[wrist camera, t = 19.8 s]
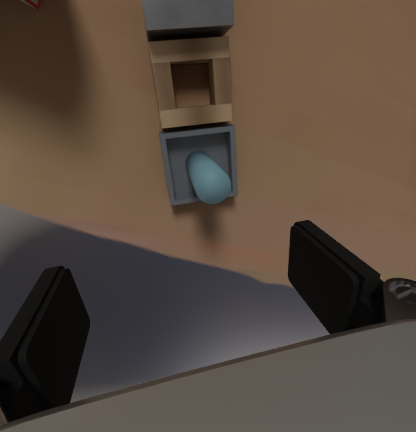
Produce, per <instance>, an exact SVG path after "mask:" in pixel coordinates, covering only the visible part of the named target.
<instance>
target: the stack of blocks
mask: <svg viewBox="0 0 416 432" xmlns="http://www.w3.org/2000/svg"><path fill="white" fill-rule="evenodd" d="M19 1H21V2H23V3H25V4H26V5H28V6H30V7H32V8H34V9H36V10H38V7H39V2H40V0H19Z"/></svg>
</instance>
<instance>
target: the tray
mask: <svg viewBox="0 0 416 432" xmlns="http://www.w3.org/2000/svg"><path fill="white" fill-rule="evenodd" d="M159 136H160V142H161V148H162V154H163V160H164V166H165V172H166V178H167V185H168V191H169V197H170V203H171V206H173V205H180V204H186V203H193V202H200V201H201V200H200V199H199V197H198V196H197V194H196V191H195V189H194V187H193V184H192V182H191V179H190V177H189V174H188V172H187V170H186V166H185V162H186V158H187V157H188V155H189V154H190V153H192V152H194V151H204V152H206V153H207V154H208V155H209V156H210V157H211V158H212V159H213V160H214V161H215V162H216V164H217V165H218V166H219V167H220V168H221V169H222V170H223V171H224V172H225V173H226V174H227V175H228V177H229V178H230V181H231V190H230V193H229V195H228V196H227V197H233V196H238V191H237V167H236V143H235V125H232V124H223V125H214V126H205V127H196V128H187V129H178V130H169V131H161V132H159Z"/></svg>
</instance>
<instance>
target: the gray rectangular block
mask: <svg viewBox="0 0 416 432" xmlns="http://www.w3.org/2000/svg"><path fill="white" fill-rule="evenodd" d="M142 5H143V12H144V18H145V24H146V31H147V37H148V42H153V41H167V40H182V39H197V38H211V37H222V36H223V35H224V34H225V33H226V32H227V31H228V30H229V29H230V28H231V27H232V26H233V25H234V19H233V0H142Z"/></svg>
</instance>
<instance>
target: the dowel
mask: <svg viewBox="0 0 416 432" xmlns="http://www.w3.org/2000/svg"><path fill="white" fill-rule="evenodd" d="M185 166H186V170H187V172H188V174H189V177H190V179H191V182H192V184H193V187H194V189H195V191H196V194H197V196H198V197H199V199H200V200H201V201H203V202H205V203H207V204H217V203H220V202H222V201H223V200H225V199H226V198H227V196H228V195H229V193H230V190H231V181H230V178H229V177H228V175H227V174H226V173H225V172H224V171H223V170H222V169H221V168H220V167H219V166H218V165H217V164H216V162H215V161H214V160H213V159H212V158H211V157H210V156H209V155H208V154H207V153H206V152H204V151H194V152H192V153H190V154H189V155H188V157H187V158H186V162H185Z"/></svg>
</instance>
